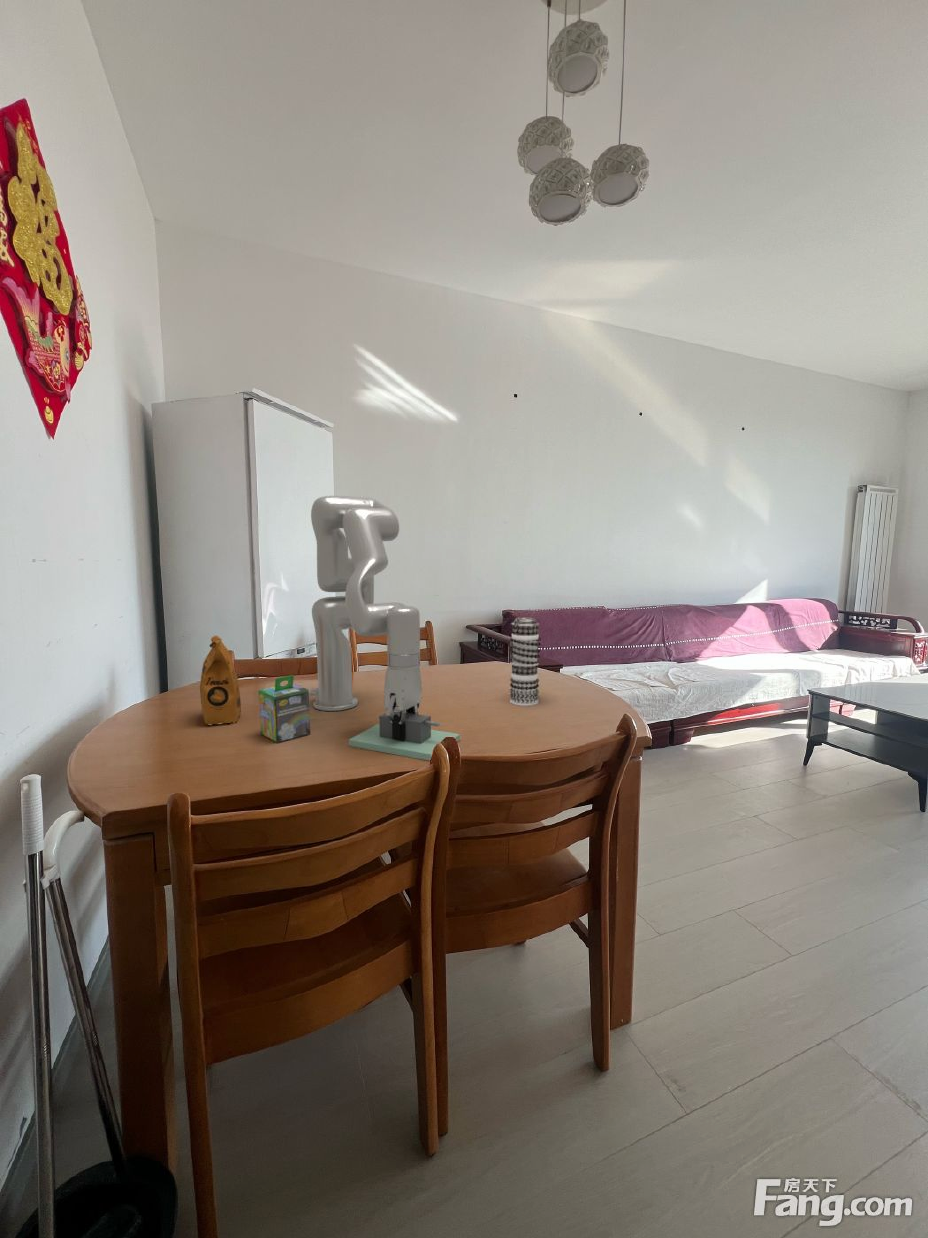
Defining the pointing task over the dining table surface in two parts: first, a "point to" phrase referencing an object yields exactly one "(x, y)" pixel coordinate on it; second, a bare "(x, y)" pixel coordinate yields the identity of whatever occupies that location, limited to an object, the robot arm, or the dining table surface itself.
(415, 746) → the header board
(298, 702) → the chalk box
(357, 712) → the dining table surface
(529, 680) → the decorative candle
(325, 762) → the dining table surface
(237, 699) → the coffee package
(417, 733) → the plug housing
